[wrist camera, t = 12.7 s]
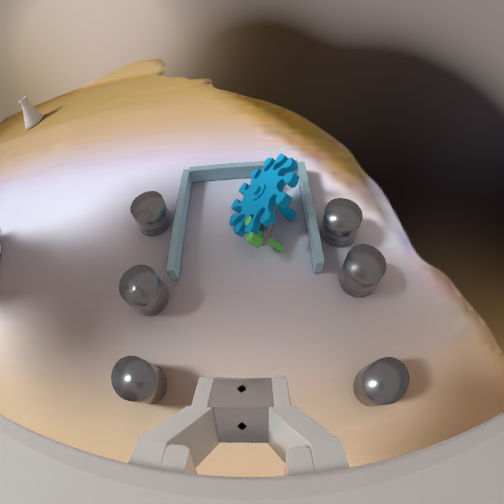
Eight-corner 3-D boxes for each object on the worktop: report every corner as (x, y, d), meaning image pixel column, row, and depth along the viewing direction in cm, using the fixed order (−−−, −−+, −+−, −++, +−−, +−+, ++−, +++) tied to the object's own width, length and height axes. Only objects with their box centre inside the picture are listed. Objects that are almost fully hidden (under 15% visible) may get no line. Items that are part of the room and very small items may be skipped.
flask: (27, 124, 61) (16, 101, 53) (45, 113, 63) (34, 89, 54) (24, 133, 58) (10, 109, 49) (42, 121, 59) (29, 96, 51)
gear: (239, 170, 35) (296, 136, 27) (273, 194, 38) (331, 168, 30) (212, 248, 31) (275, 227, 23) (253, 269, 34) (320, 257, 26)
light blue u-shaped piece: (171, 279, 29) (165, 270, 28) (187, 178, 37) (183, 168, 36) (321, 272, 29) (324, 262, 27) (302, 171, 37) (303, 159, 35)
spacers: (114, 408, 22) (95, 405, 19) (144, 211, 35) (134, 193, 32) (395, 401, 21) (411, 398, 18) (352, 199, 34) (358, 179, 31)
